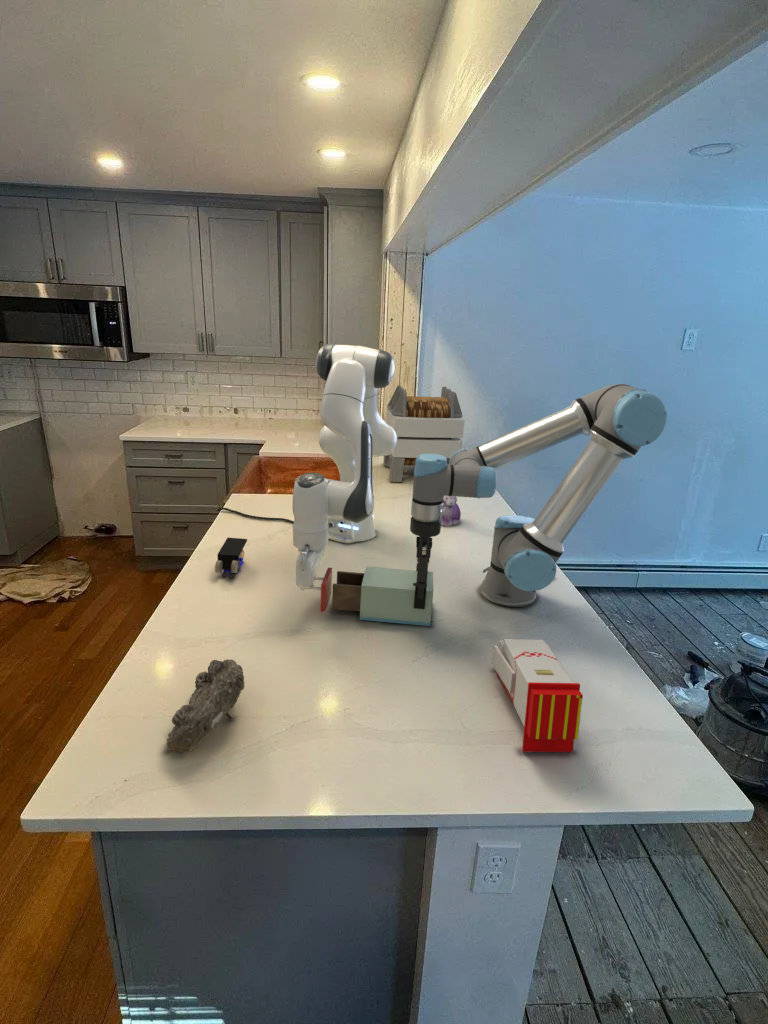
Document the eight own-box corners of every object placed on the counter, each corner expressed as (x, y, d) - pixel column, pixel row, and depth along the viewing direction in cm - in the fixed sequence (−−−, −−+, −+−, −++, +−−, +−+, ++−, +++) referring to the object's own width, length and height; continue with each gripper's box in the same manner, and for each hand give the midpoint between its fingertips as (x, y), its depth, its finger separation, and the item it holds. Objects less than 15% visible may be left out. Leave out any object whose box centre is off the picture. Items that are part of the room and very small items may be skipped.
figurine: (446, 528, 206) (449, 489, 201) (431, 519, 215) (434, 481, 210) (467, 524, 211) (471, 486, 206) (452, 516, 219) (455, 478, 214)
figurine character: (238, 584, 162) (249, 557, 175) (236, 562, 158) (247, 536, 172) (215, 584, 161) (227, 556, 175) (212, 561, 158) (225, 535, 171)
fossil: (192, 660, 117) (244, 628, 112) (224, 691, 120) (276, 661, 115) (142, 746, 98) (202, 712, 93) (182, 779, 101) (242, 748, 96)
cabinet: (359, 619, 143) (361, 585, 140) (364, 598, 154) (366, 566, 150) (430, 626, 142) (433, 591, 139) (429, 604, 153) (433, 571, 150)
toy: (540, 622, 128) (592, 691, 98) (535, 677, 130) (584, 759, 101) (487, 621, 127) (523, 690, 98) (483, 676, 130) (516, 758, 101)
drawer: (298, 609, 144) (298, 582, 142) (306, 590, 154) (306, 565, 151) (384, 617, 143) (386, 590, 141) (387, 598, 153) (389, 572, 150)
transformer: (382, 463, 289) (386, 382, 275) (445, 464, 293) (451, 384, 279) (390, 482, 257) (394, 392, 243) (460, 483, 261) (468, 394, 247)
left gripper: (315, 555, 133) (315, 607, 138) (329, 523, 152) (329, 570, 157) (288, 554, 133) (289, 605, 138) (306, 522, 152) (306, 568, 157)
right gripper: (442, 536, 127) (434, 621, 135) (440, 502, 149) (433, 577, 157) (409, 534, 128) (403, 618, 135) (412, 500, 150) (406, 575, 157)
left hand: (310, 586), depth 148 cm, fingers closed, pressing on drawer
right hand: (419, 596), depth 146 cm, fingers closed on cabinet, 11 cm apart
